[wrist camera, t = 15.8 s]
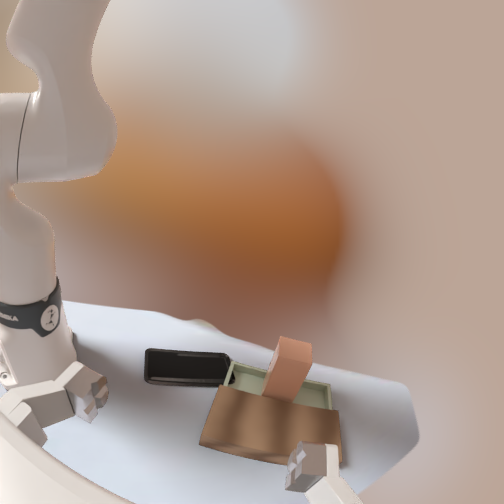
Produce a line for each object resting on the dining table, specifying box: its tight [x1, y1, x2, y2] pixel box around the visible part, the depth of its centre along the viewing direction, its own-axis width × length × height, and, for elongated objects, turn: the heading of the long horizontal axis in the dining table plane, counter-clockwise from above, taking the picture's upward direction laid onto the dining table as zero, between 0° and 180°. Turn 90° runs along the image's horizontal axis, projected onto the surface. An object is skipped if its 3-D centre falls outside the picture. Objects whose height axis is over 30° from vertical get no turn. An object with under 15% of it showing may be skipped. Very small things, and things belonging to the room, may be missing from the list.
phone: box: [144, 348, 235, 387], centre depth 43 cm, size 8×1×15 cm
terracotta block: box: [261, 336, 312, 403], centre depth 40 cm, size 5×5×10 cm
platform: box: [199, 385, 342, 465], centre depth 33 cm, size 19×10×3 cm, turn 81°
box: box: [224, 361, 332, 410], centre depth 42 cm, size 18×7×2 cm, turn 81°
